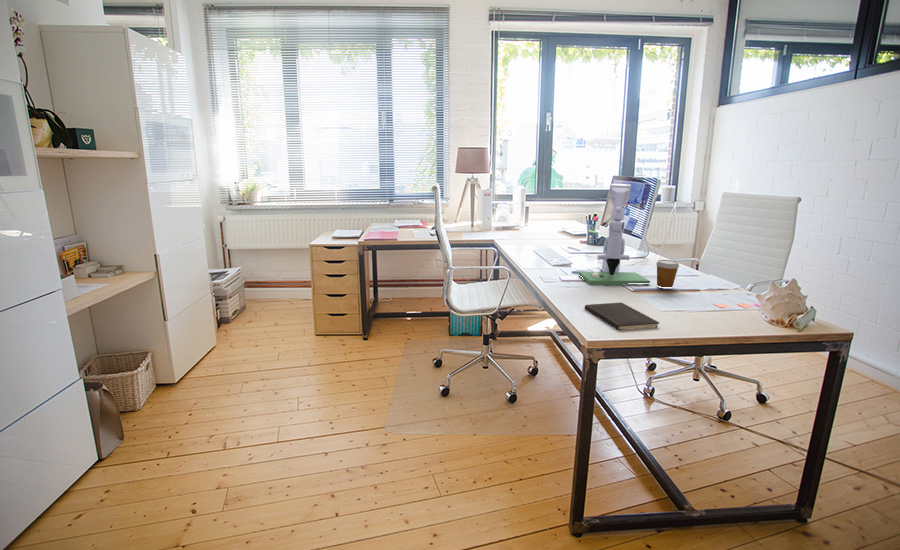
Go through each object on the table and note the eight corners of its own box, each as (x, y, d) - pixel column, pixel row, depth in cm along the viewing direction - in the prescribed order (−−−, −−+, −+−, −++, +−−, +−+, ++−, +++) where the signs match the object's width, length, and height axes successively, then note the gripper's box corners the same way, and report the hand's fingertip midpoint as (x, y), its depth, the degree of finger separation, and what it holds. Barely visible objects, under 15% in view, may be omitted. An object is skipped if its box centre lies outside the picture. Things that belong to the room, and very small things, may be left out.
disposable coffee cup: (679, 290, 210) (683, 264, 207) (658, 290, 210) (661, 263, 207) (670, 285, 219) (674, 259, 216) (649, 284, 219) (653, 259, 216)
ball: (597, 275, 227) (592, 280, 226) (594, 270, 225) (588, 275, 225) (602, 277, 223) (596, 282, 223) (598, 271, 222) (592, 277, 222)
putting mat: (578, 276, 232) (579, 272, 232) (634, 276, 234) (635, 272, 233) (589, 284, 217) (590, 280, 216) (649, 285, 218) (650, 280, 218)
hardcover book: (621, 307, 187) (621, 302, 186) (658, 328, 165) (659, 322, 165) (584, 310, 183) (584, 304, 183) (617, 332, 162) (618, 325, 161)
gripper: (602, 247, 217) (599, 276, 220) (633, 248, 218) (630, 276, 221) (596, 244, 224) (594, 272, 227) (627, 245, 224) (624, 272, 228)
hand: (611, 274), depth 225 cm, fingers closed
